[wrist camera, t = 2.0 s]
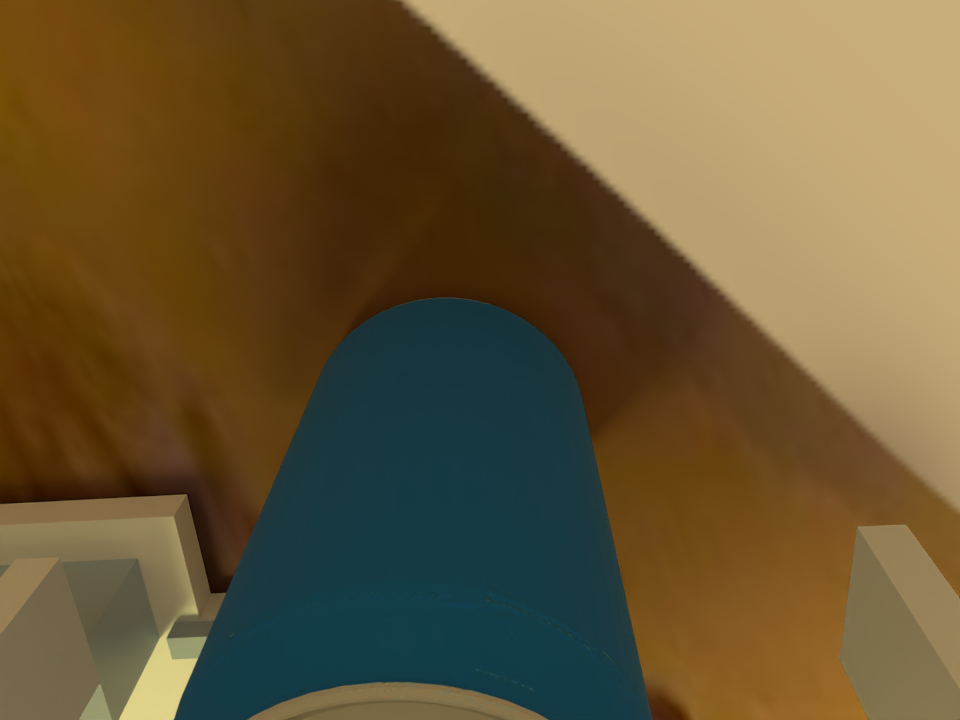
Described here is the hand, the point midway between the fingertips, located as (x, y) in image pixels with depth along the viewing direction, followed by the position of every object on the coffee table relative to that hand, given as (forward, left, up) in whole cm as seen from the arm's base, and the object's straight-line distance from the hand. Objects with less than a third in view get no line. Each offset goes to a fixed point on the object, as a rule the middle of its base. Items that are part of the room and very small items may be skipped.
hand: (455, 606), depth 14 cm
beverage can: (0, 0, -8) cm, 8 cm away
